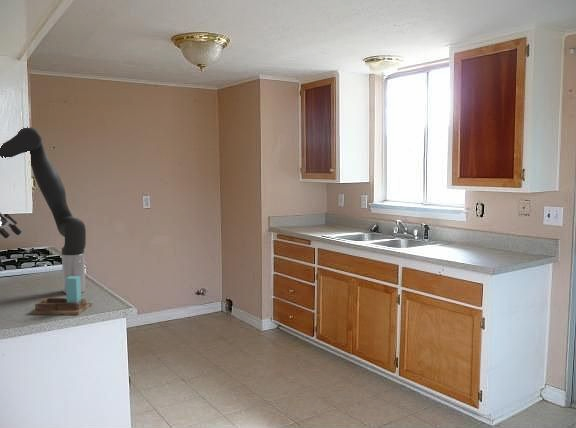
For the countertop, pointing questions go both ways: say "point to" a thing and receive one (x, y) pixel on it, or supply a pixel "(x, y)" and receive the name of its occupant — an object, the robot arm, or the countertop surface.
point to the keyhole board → (60, 306)
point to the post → (73, 289)
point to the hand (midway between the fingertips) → (14, 235)
